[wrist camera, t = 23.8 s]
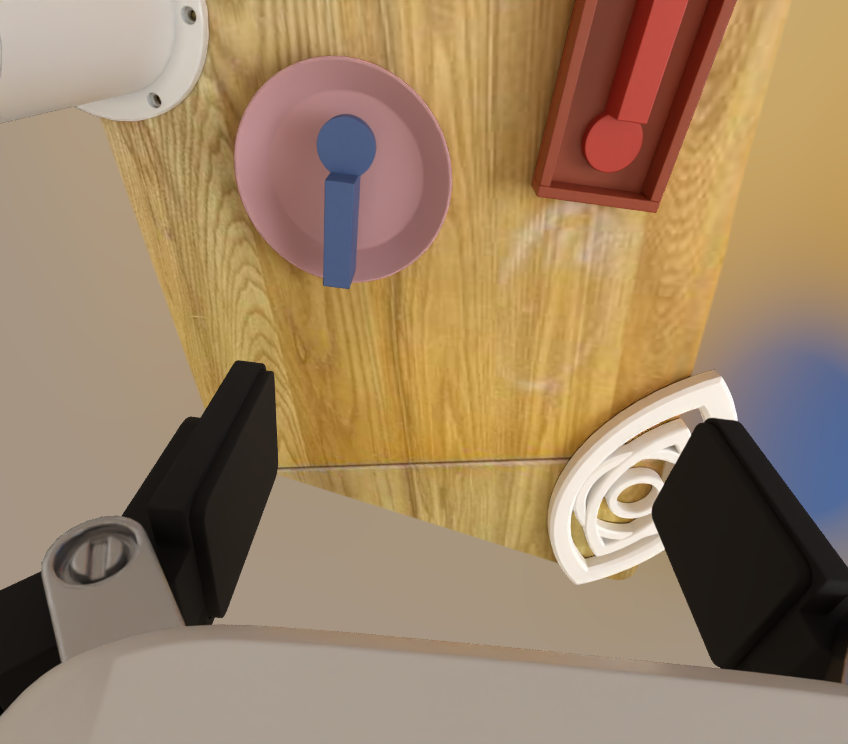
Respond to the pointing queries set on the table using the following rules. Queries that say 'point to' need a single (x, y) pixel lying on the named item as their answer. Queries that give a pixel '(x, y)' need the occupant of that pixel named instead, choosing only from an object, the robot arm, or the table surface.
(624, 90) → the red spoon
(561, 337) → the table surface
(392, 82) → the plate
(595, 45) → the tray
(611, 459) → the decorative sculpture
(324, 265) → the blue spoon
